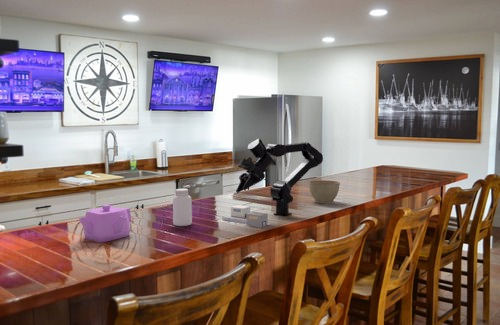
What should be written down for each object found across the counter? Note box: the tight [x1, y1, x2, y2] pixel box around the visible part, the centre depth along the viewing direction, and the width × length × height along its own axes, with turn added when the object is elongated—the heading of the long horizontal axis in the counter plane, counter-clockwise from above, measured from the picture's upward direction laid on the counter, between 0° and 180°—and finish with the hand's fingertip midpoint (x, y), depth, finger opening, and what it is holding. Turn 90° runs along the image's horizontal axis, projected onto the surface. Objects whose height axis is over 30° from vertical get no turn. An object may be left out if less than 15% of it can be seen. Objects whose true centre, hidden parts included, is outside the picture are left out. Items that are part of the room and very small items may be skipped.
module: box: [230, 204, 251, 219], centre depth 222 cm, size 6×7×5 cm
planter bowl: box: [308, 179, 341, 204], centre depth 256 cm, size 16×16×11 cm
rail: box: [217, 215, 270, 228], centre depth 208 cm, size 8×22×2 cm, turn 57°
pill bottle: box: [172, 188, 193, 227], centre depth 206 cm, size 8×8×15 cm
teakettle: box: [78, 204, 132, 243], centre depth 186 cm, size 17×17×12 cm
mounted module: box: [245, 211, 269, 228], centre depth 204 cm, size 6×7×5 cm
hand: (240, 190), depth 211 cm, fingers open, 9 cm apart
